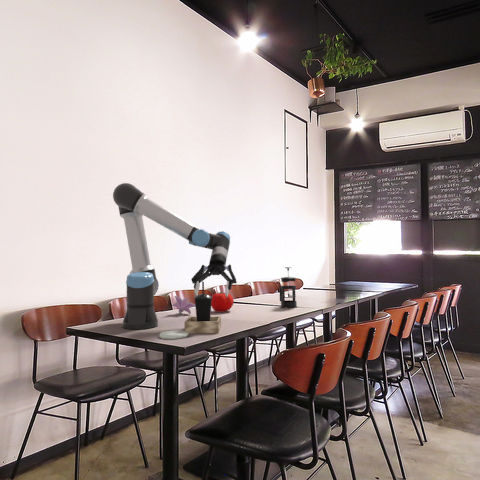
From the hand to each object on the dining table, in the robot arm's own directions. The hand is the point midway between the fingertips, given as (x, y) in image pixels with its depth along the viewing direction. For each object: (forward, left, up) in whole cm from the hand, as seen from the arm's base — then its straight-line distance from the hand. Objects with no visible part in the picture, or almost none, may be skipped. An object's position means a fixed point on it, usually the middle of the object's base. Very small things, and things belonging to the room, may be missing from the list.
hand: (210, 294), depth 178 cm
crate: (-3, -5, -14) cm, 15 cm away
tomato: (+1, +47, -14) cm, 49 cm away
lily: (-18, +38, -14) cm, 45 cm away
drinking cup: (-3, -5, -14) cm, 15 cm away
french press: (+38, +63, -14) cm, 75 cm away
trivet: (-13, -18, -14) cm, 26 cm away
